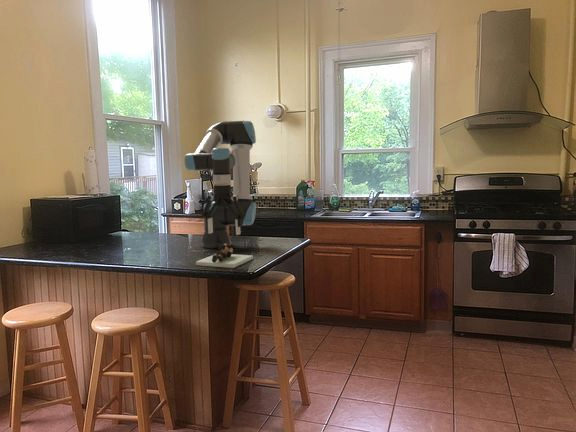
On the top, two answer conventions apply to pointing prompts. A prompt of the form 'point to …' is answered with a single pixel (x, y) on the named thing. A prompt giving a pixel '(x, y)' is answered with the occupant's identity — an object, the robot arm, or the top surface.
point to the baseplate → (225, 261)
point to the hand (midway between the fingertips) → (224, 233)
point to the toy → (223, 253)
